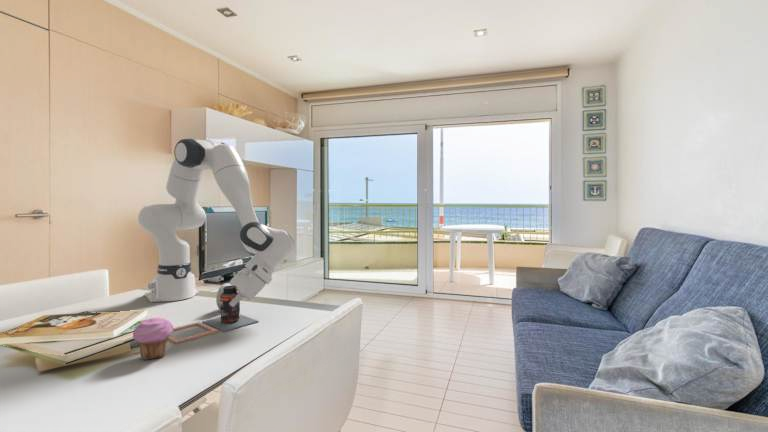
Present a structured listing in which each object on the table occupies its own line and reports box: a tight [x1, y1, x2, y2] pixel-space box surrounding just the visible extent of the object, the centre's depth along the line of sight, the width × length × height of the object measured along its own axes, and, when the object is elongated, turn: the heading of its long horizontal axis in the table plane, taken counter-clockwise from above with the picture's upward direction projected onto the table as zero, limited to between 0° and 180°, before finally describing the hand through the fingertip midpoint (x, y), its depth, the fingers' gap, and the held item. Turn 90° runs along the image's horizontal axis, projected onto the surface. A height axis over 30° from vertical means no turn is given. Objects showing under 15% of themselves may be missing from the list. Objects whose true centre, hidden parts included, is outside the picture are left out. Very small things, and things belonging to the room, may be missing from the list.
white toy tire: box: [216, 282, 232, 311], centre depth 133 cm, size 10×4×10 cm, turn 179°
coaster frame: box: [168, 321, 219, 344], centre depth 110 cm, size 12×12×1 cm
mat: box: [201, 313, 259, 333], centre depth 120 cm, size 14×12×1 cm
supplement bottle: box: [220, 286, 241, 323], centre depth 119 cm, size 6×6×11 cm
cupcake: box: [132, 317, 174, 361], centre depth 93 cm, size 9×9×10 cm
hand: (228, 302), depth 119 cm, fingers open, 6 cm apart
